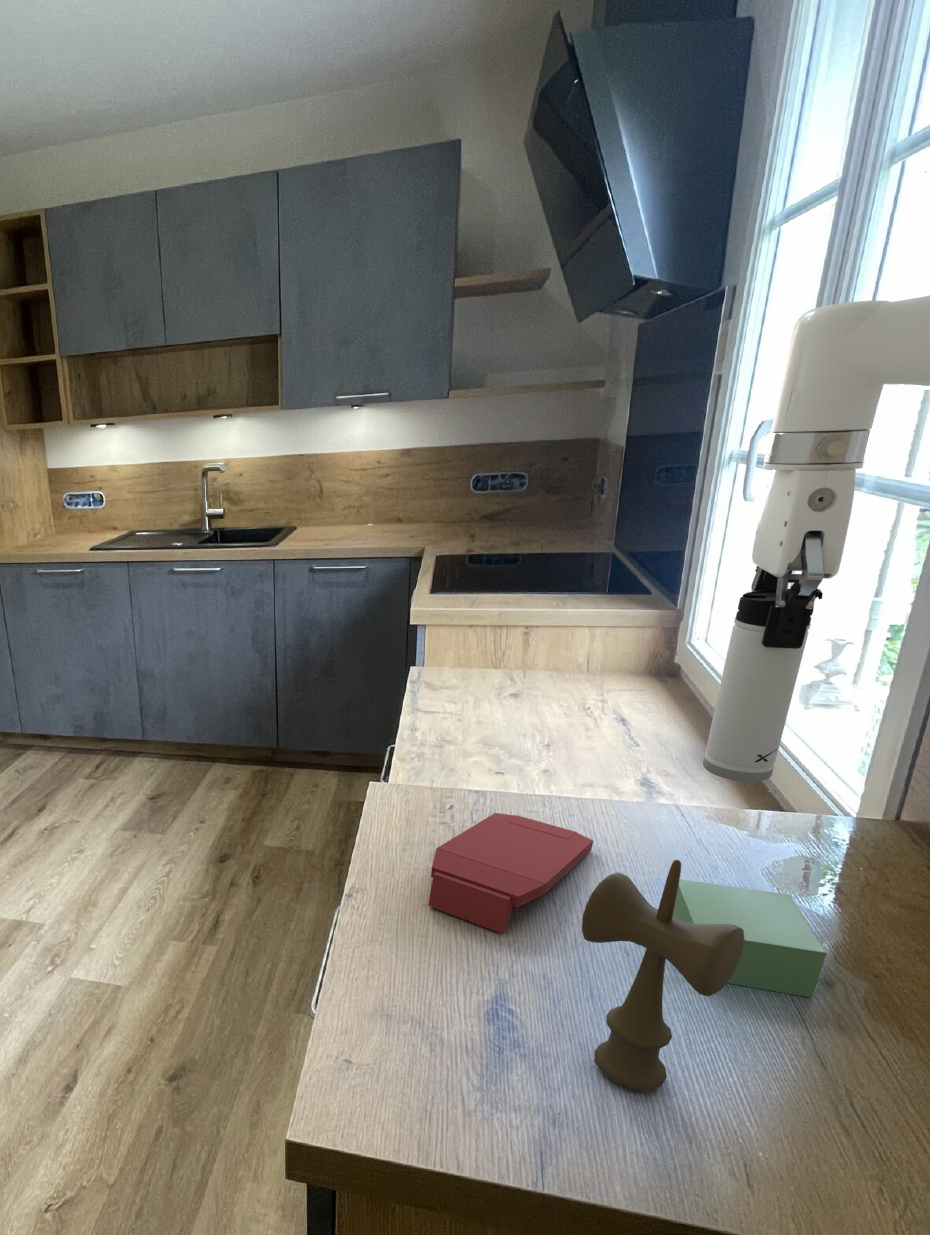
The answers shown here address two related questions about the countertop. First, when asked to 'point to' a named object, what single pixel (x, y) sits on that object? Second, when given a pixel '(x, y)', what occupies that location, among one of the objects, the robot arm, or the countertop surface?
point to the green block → (758, 934)
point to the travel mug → (752, 695)
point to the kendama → (653, 971)
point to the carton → (501, 867)
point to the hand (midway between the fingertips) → (770, 636)
